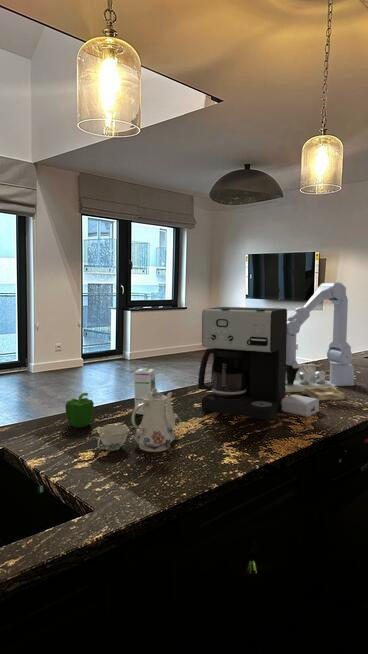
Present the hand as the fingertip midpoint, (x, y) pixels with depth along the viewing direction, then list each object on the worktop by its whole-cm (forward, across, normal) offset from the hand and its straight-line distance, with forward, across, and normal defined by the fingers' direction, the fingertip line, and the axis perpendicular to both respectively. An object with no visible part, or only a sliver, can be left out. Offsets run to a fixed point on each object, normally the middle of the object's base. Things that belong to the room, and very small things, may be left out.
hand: (288, 382), depth 185 cm
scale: (+3, -1, +7) cm, 8 cm away
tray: (+3, +14, +9) cm, 17 cm away
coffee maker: (+3, +23, -28) cm, 36 cm away
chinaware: (+3, +52, -63) cm, 82 cm away
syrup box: (+3, +23, -61) cm, 65 cm away
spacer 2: (+1, 0, +7) cm, 7 cm away
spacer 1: (+1, 0, 0) cm, 1 cm away
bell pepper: (+3, +34, -82) cm, 89 cm away
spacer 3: (+1, 0, +14) cm, 14 cm away
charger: (+3, +30, -11) cm, 32 cm away
